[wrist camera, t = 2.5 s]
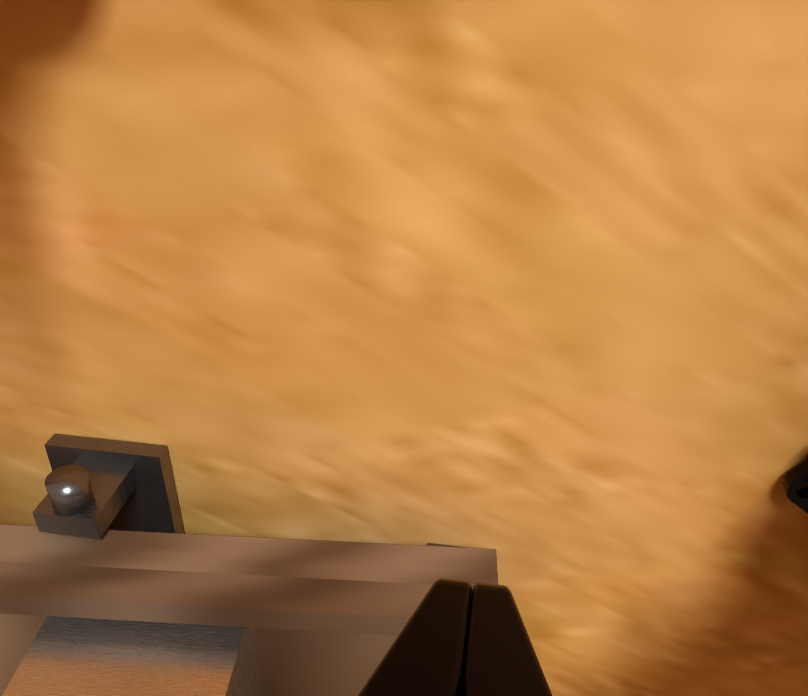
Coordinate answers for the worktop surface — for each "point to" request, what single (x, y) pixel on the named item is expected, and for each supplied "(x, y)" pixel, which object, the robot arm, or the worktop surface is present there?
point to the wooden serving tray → (233, 594)
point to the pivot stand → (109, 488)
